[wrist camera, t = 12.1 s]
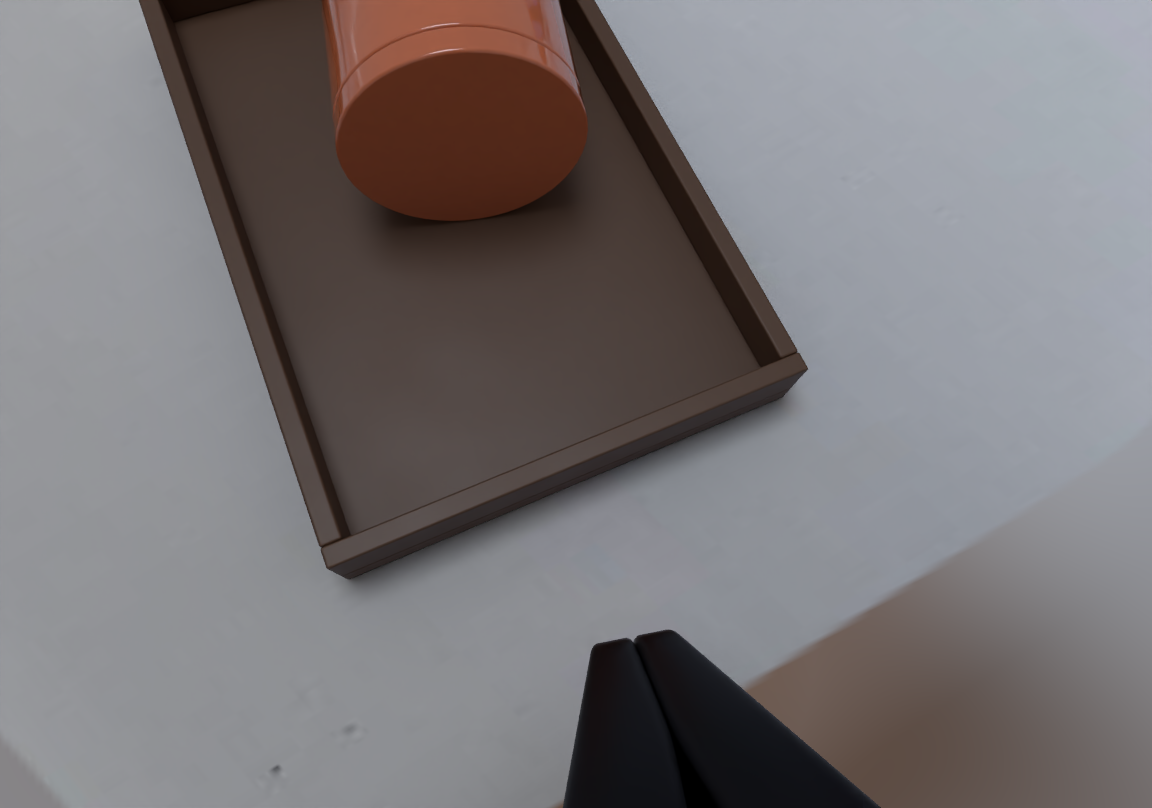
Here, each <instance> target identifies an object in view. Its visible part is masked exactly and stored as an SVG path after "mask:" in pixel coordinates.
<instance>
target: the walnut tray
mask: <svg viewBox="0 0 1152 808" xmlns="http://www.w3.org/2000/svg"><path fill="white" fill-rule="evenodd" d="M139 2H140V5H141V8H142V11H143V14H144V17H145V20H146V23H147V26H148V29H149V32H150V36H151V39H152V42H153V45H154V48H155V51H156V54H157V57H158V60H159V63H160V66H161V69H162V72H163V75H164V78H165V81H166V84H167V87H168V90H169V93H170V96H171V99H172V102H173V105H174V108H175V111H176V114H177V117H178V120H179V123H180V126H181V129H182V132H183V135H184V138H185V141H186V144H187V147H188V150H189V153H190V156H191V159H192V162H193V166H194V169H195V172H196V175H197V178H198V181H199V184H200V187H201V190H202V193H203V196H204V199H205V202H206V205H207V208H208V211H209V214H210V217H211V220H212V223H213V226H214V229H215V232H216V235H217V238H218V241H219V244H220V247H221V250H222V253H223V256H224V259H225V262H226V265H227V268H228V271H229V274H230V277H231V280H232V283H233V286H234V289H235V292H236V295H237V299H238V302H239V305H240V308H241V311H242V314H243V317H244V320H245V323H246V326H247V329H248V332H249V335H250V338H251V341H252V344H253V347H254V350H255V353H256V356H257V359H258V362H259V365H260V368H261V371H262V374H263V377H264V380H265V383H266V386H267V389H268V392H269V395H270V398H271V401H272V404H273V407H274V410H275V413H276V416H277V419H278V422H279V425H280V429H281V432H282V435H283V438H284V441H285V444H286V447H287V450H288V453H289V456H290V459H291V462H292V465H293V468H294V471H295V474H296V477H297V480H298V483H299V486H300V489H301V492H302V495H303V498H304V501H305V504H306V507H307V510H308V513H309V516H310V519H311V522H312V525H313V528H314V531H315V534H316V537H317V540H318V543H319V546H320V547H321V553H322V556H323V559H324V562H325V565H326V568H327V569H329V570H331V571H333V572H335V573H337V574H339V575H341V576H343V577H345V578H347V579H351V578H353V577H356V576H358V575H361V574H363V573H365V572H368V571H370V570H372V569H375V568H377V567H380V566H382V565H384V564H387V563H389V562H391V561H394V560H396V559H399V558H401V557H403V556H406V555H408V554H410V553H413V552H415V551H418V550H420V549H422V548H425V547H427V546H429V545H432V544H434V543H437V542H439V541H441V540H444V539H446V538H448V537H451V536H453V535H456V534H458V533H460V532H463V531H465V530H467V529H470V528H472V527H475V526H477V525H479V524H482V523H484V522H486V521H489V520H491V519H494V518H496V517H498V516H501V515H503V514H505V513H508V512H510V511H513V510H515V509H517V508H520V507H522V506H524V505H527V504H529V503H532V502H534V501H536V500H539V499H541V498H543V497H546V496H548V495H551V494H553V493H555V492H558V491H560V490H562V489H565V488H567V487H570V486H572V485H574V484H577V483H579V482H581V481H584V480H586V479H589V478H591V477H593V476H596V475H598V474H600V473H603V472H605V471H608V470H610V469H612V468H615V467H617V466H619V465H622V464H624V463H627V462H629V461H631V460H634V459H636V458H638V457H641V456H643V455H646V454H648V453H650V452H653V451H655V450H657V449H660V448H662V447H665V446H667V445H669V444H672V443H674V442H676V441H679V440H681V439H684V438H686V437H688V436H691V435H693V434H695V433H698V432H700V431H703V430H705V429H707V428H710V427H712V426H714V425H717V424H719V423H722V422H724V421H726V420H729V419H731V418H733V417H736V416H738V415H741V414H743V413H745V412H748V411H750V410H752V409H755V408H757V407H760V406H762V405H764V404H767V403H769V402H771V401H774V400H776V399H779V398H781V397H783V396H784V395H785V394H786V393H787V392H788V390H789V389H790V388H791V387H792V386H793V385H794V384H795V383H796V382H797V380H798V379H799V378H800V377H801V376H802V375H803V374H804V373H805V372H806V371H807V370H808V368H807V366H806V364H805V362H804V360H803V359H802V357H801V355H800V354H799V353H797V349H796V347H795V345H794V343H793V342H792V340H791V338H790V336H789V335H788V333H787V331H786V330H785V328H784V326H783V324H782V323H781V321H780V319H779V318H778V316H777V314H776V312H775V311H774V309H773V307H772V305H771V304H770V302H769V300H768V299H767V297H766V295H765V293H764V292H763V290H762V288H761V287H760V285H759V283H758V281H757V280H756V278H755V276H754V274H753V273H752V271H751V269H750V268H749V266H748V264H747V262H746V261H745V259H744V257H743V255H742V254H741V252H740V250H739V249H738V247H737V245H736V243H735V242H734V240H733V238H732V237H731V235H730V233H729V231H728V230H727V228H726V226H725V224H724V223H723V221H722V219H721V218H720V216H719V214H718V212H717V211H716V209H715V207H714V206H713V204H712V202H711V200H710V199H709V197H708V195H707V193H706V192H705V190H704V188H703V187H702V185H701V183H700V181H699V180H698V178H697V176H696V175H695V173H694V171H693V169H692V168H691V166H690V164H689V162H688V161H687V159H686V157H685V156H684V154H683V152H682V150H681V149H680V147H679V145H678V144H677V142H676V140H675V138H674V137H673V135H672V133H671V131H670V130H669V128H668V126H667V125H666V123H665V121H664V119H663V118H662V116H661V114H660V112H659V111H658V109H657V107H656V106H655V104H654V102H653V100H652V99H651V97H650V95H649V94H648V92H647V90H646V88H645V87H644V85H643V83H642V81H641V80H640V78H639V76H638V75H637V73H636V71H635V69H634V68H633V66H632V64H631V63H630V61H629V59H628V57H627V56H626V54H625V52H624V50H623V49H622V47H621V45H620V44H619V42H618V40H617V38H616V37H615V35H614V33H613V32H612V30H611V28H610V26H609V25H608V23H607V21H606V19H605V18H604V16H603V14H602V13H601V11H600V9H599V7H598V6H597V4H596V2H595V1H594V0H560V4H561V8H562V13H563V17H564V21H565V25H566V29H567V34H568V38H569V42H570V46H571V50H572V54H573V59H574V63H575V67H576V71H577V75H578V80H579V84H580V88H581V92H582V96H583V100H584V105H585V109H586V113H587V117H588V134H587V141H586V144H585V147H584V150H583V153H582V155H581V157H580V159H579V161H578V162H577V164H576V165H575V167H574V168H573V170H572V171H571V172H570V173H569V174H568V176H567V177H566V178H565V179H564V180H563V181H562V182H561V183H559V184H558V185H557V186H556V187H555V188H554V189H552V190H551V191H549V192H548V193H547V194H545V195H544V196H542V197H540V198H539V199H537V200H535V201H533V202H531V203H529V204H527V205H525V206H523V207H520V208H518V209H515V210H512V211H510V212H507V213H503V214H500V215H496V216H492V217H487V218H482V219H474V220H466V221H437V220H428V219H421V218H416V217H411V216H407V215H404V214H401V213H397V212H395V211H392V210H390V209H387V208H385V207H383V206H381V205H379V204H377V203H376V202H374V201H372V200H371V199H369V198H368V197H366V196H365V195H364V194H362V193H361V192H360V191H359V190H358V189H357V188H356V187H355V186H354V185H353V184H352V183H351V181H350V180H349V179H348V178H347V176H346V175H345V173H344V171H343V169H342V168H341V166H340V163H339V160H338V157H337V155H336V148H335V139H334V129H333V119H332V109H331V99H330V89H329V79H328V69H327V59H326V49H325V39H324V29H323V19H322V9H321V0H139Z"/></svg>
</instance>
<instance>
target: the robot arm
mask: <svg viewBox="0 0 1152 808" xmlns="http://www.w3.org/2000/svg"><path fill="white" fill-rule="evenodd" d="M563 808H881V807H879V806H878V805H877V804H876V803H875V802H874V801H873V800H871V799H870V798H869V797H868V796H867V795H866V794H864V793H863V792H862V791H861V790H860V789H859V788H857V787H856V786H855V785H854V784H853V783H852V782H850V781H849V780H848V779H847V778H846V777H844V776H843V775H842V774H841V773H840V772H839V771H838V770H836V769H835V768H834V767H833V766H832V765H831V764H829V763H828V762H827V761H826V760H825V759H824V758H822V757H821V756H820V755H819V754H818V753H817V752H815V751H814V750H813V749H812V748H811V747H810V746H808V745H807V744H806V743H805V742H804V741H803V740H801V739H800V738H799V737H798V736H797V735H796V734H794V733H793V732H792V731H791V730H790V729H789V728H787V727H786V726H785V725H784V724H783V723H782V722H780V721H779V720H778V719H777V718H776V717H775V716H773V715H772V714H771V713H770V712H769V711H768V710H766V709H765V708H764V707H763V706H762V705H761V704H759V703H758V702H757V701H756V700H755V699H754V698H752V697H751V696H750V695H749V694H748V693H747V692H745V691H744V690H743V689H742V688H741V687H740V686H738V685H737V684H736V683H735V682H734V681H733V680H731V679H730V678H729V677H728V676H727V675H726V674H724V673H723V672H722V671H721V670H720V669H719V668H718V667H716V666H715V665H714V664H713V663H712V662H711V661H709V660H708V659H707V658H706V657H705V656H704V655H702V654H701V653H700V652H699V651H698V650H697V649H695V648H694V647H693V646H692V645H691V644H690V643H688V642H687V641H686V640H685V639H684V638H683V637H681V636H680V635H679V634H678V633H676V632H675V631H672V630H663V631H658V632H653V633H648V634H643V635H639V636H637V637H636V638H635V639H634V642H632V640H631V639H628V638H623V639H618V640H613V641H608V642H603V643H598V644H596V645H594V646H593V648H592V650H591V654H590V660H589V665H588V671H587V677H586V682H585V688H584V693H583V699H582V704H581V710H580V715H579V721H578V726H577V732H576V738H575V743H574V749H573V754H572V760H571V765H570V771H569V776H568V782H567V787H566V793H565V799H564V804H563Z"/></svg>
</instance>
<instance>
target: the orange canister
mask: <svg viewBox="0 0 1152 808" xmlns="http://www.w3.org/2000/svg"><path fill="white" fill-rule="evenodd" d="M321 9H322V19H323V29H324V39H325V49H326V59H327V69H328V79H329V89H330V99H331V109H332V119H333V129H334V139H335V148H336V155H337V157H338V160H339V163H340V166H341V168H342V169H343V171H344V173H345V175H346V176H347V178H348V179H349V180H350V181H351V183H352V184H353V185H354V186H355V187H356V188H357V189H358V190H359V191H360V192H361V193H362V194H364V195H365V196H366V197H368V198H369V199H371V200H372V201H374V202H376V203H377V204H379V205H381V206H383V207H385V208H387V209H390V210H392V211H395V212H397V213H401V214H404V215H407V216H411V217H416V218H421V219H428V220H437V221H466V220H474V219H482V218H487V217H492V216H496V215H500V214H503V213H507V212H510V211H512V210H515V209H518V208H520V207H523V206H525V205H527V204H529V203H531V202H533V201H535V200H537V199H539V198H540V197H542V196H544V195H545V194H547V193H548V192H549V191H551V190H552V189H554V188H555V187H556V186H557V185H558V184H559V183H561V182H562V181H563V180H564V179H565V178H566V177H567V176H568V174H569V173H570V172H571V171H572V170H573V168H574V167H575V165H576V164H577V162H578V161H579V159H580V157H581V155H582V153H583V150H584V147H585V144H586V141H587V134H588V117H587V113H586V109H585V105H584V100H583V96H582V92H581V88H580V84H579V80H578V75H577V71H576V67H575V63H574V59H573V54H572V50H571V46H570V42H569V38H568V34H567V29H566V25H565V21H564V17H563V13H562V8H561V4H560V0H321Z"/></svg>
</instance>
